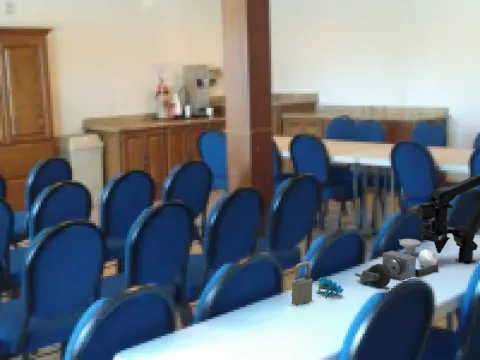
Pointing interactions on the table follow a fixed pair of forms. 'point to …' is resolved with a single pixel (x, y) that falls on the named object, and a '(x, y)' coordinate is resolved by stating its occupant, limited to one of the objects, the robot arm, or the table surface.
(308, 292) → the padlock
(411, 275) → the bracket
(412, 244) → the showerhead
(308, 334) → the table surface
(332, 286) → the blue toy creature
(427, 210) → the robot arm
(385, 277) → the caster wheel
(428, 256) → the white folded round lump
